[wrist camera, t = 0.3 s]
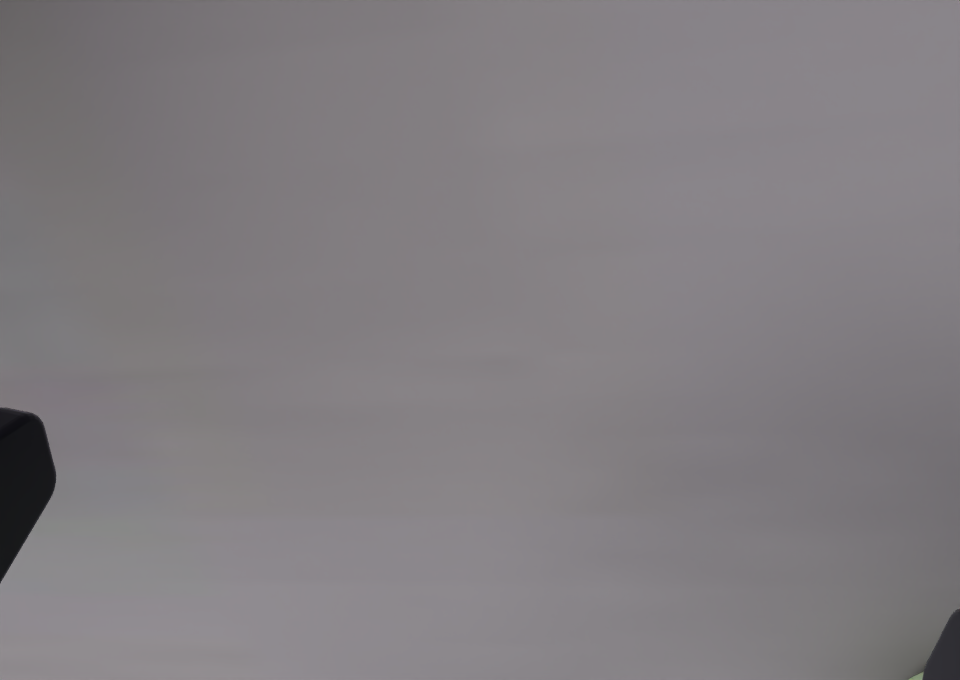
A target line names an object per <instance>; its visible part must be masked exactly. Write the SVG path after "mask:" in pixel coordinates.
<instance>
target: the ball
mask: <svg viewBox="0 0 960 680" xmlns="http://www.w3.org/2000/svg"><path fill="white" fill-rule="evenodd" d="M923 673H924V672H922V673H920V674H917V675H915V676H913V677H912V678H910V679H908V680H922V678H923Z"/></svg>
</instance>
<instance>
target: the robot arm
mask: <svg viewBox="0 0 960 680" xmlns="http://www.w3.org/2000/svg"><path fill="white" fill-rule="evenodd" d="M55 483H56V471H55V466H54V463H53V459H52V455H51V451H50V447H49V443H48V439H47V435H46V431H45V427H44V424H43V422H42V421H41V419H40V418H39V417H38V416H37V415H35V414H33V413H29V412H25V411H20V410H15V409H10V408H0V583H1V581H2V579H3V578H4V576H5V574H6V573H7V571H8V569H9V567H10V566H11V564H12V562H13V561H14V559H15V557H16V556H17V554H18V552H19V551H20V549H21V547H22V546H23V544H24V542H25V540H26V539H27V537H28V535H29V534H30V532H31V530H32V529H33V527H34V525H35V524H36V522H37V520H38V519H39V517H40V515H41V514H42V512H43V510H44V508H45V507H46V505H47V503H48V502H49V500H50V498H51V496H52V494H53V491H54V488H55ZM922 680H960V609H957V610H956V611H955V612H954V613H953V614H952V615H951V617H950V618H949V620H948V622H947V624H946V626H945V628H944V630H943V632H942V634H941V636H940V638H939V640H938V642H937V644H936V646H935V648H934V650H933V652H932V654H931V656H930V658H929V660H928V662H927V664H926V666H925V669H924V673H923V678H922Z"/></svg>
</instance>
